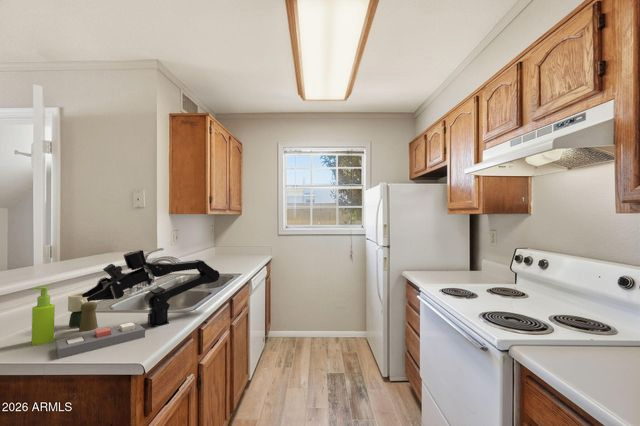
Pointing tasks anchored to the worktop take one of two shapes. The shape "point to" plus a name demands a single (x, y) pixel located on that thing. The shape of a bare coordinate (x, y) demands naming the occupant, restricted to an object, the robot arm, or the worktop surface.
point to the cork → (88, 316)
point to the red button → (102, 332)
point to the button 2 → (127, 327)
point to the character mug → (75, 308)
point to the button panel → (97, 341)
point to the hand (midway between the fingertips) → (84, 297)
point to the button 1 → (75, 340)
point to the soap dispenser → (43, 319)
